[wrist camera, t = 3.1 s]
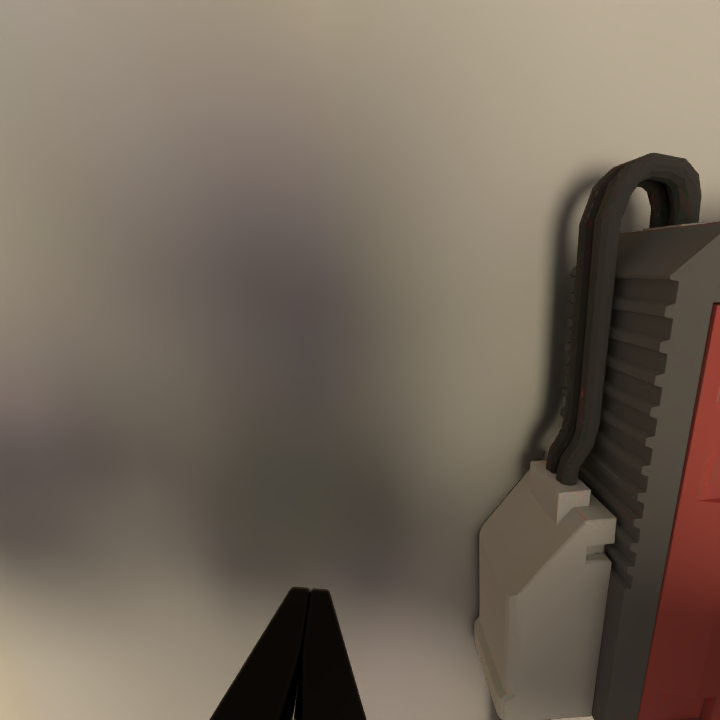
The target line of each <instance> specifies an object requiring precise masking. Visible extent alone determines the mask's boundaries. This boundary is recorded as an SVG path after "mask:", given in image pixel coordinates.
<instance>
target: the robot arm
mask: <svg viewBox="0 0 720 720" xmlns="http://www.w3.org/2000/svg"><path fill="white" fill-rule="evenodd" d="M296 694H297V695H296ZM295 701H296V703H295ZM294 708H295V712H294ZM293 714H294V720H366V716H365V713H364V709H363V706H362V702H361V699H360V695H359V692H358V688H357V685H356V682H355V678H354V675H353V671H352V668H351V664H350V661H349V657H348V654H347V650H346V647H345V643H344V640H343V636H342V633H341V630H340V626H339V623H338V619H337V616H336V612H335V609H334V605H333V602H332V598H331V595H330V592H329V591H328V590H326V589H315V588H314V589H312V590H311V591H310V590H309V589H308V588H304V587H292V588H291V589H290V590H289V592H288V594H287V595H286V597H285V598H284V600H283V602H282V603H281V605H280V607H279V608H278V610H277V611H276V613H275V615H274V616H273V618H272V619H271V621H270V623H269V624H268V626H267V628H266V629H265V631H264V632H263V634H262V636H261V637H260V639H259V640H258V642H257V644H256V645H255V647H254V649H253V650H252V652H251V653H250V655H249V657H248V658H247V660H246V661H245V663H244V665H243V666H242V668H241V670H240V671H239V673H238V674H237V676H236V678H235V679H234V681H233V682H232V684H231V686H230V687H229V689H228V691H227V692H226V694H225V695H224V697H223V699H222V700H221V702H220V703H219V705H218V707H217V708H216V710H215V712H214V713H213V715H212V716H211V718H210V720H293Z"/></svg>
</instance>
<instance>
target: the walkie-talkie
mask: <svg viewBox="0 0 720 720" xmlns="http://www.w3.org/2000/svg"><path fill="white" fill-rule="evenodd" d="M636 187H642V188H643V189H644V190H645V191H646V192H647V194H648V198H649V202H650V205H651V215H650V226H649V229H643V231H639V232H630V233H622V234H620V226H621V219H622V216H623V214H624V211H625V208H626V205H627V202H628V200H629V197H630V195H631V194H632V192H633V191H634V190H635V188H636ZM700 203H701V189H700V181H699V174H698V173H697V172H696V170H695V169H694V168H693V167H692V166H691V164H690V163H689V162H688V161H687V160H686V159H684V158H679V157H673V156H668V155H663V154H658V153H650V154H647V155H645V156H642V157H639V158H637V159H634V160H632V161H629V162H626V163H624V164H621V165H619V166H616V167H614V168H612V169H611V170H610V171H609V172H608V173H607V174H606V175H605V176H604V177H603V178H602V179H601V180H600V181H599V182H598V183H597V184H596V185H595V186H594V187H593V189H592V191H591V194H590V197H589V199H588V202H587V205H586V208H585V210H584V213H583V216H582V218H581V221H580V224H579V237H578V251H577V265H576V267H575V268H574V269H573V270H572V271H571V274H570V275H571V276H574V277H575V282H574V292H572V293H570V294H569V301H570V302H573V310H572V317H570V318H568V320H567V326H569V327H571V338H570V341H569V342H567V343H566V349H565V350H567V351H570V352H569V364H568V365H566V366H564V373H566V374H568V380H567V387H565V388H563V393H562V395H564V396H565V397H566V408H564V409H562V410H561V416H562V417H563V418H564V421H563V425H562V429H561V430H560V433H559V435H558V436H557V438H556V439H555V441H554V443H553V444H552V446H551V447H550V450H549V454H548V458H547V460H541V461H531V464H530V469H529V470H528V472H527V473H526V474H525V475H524V476H523V478H522V479H521V480H520V481H519V482H518V483H517V485H516V486H515V487H514V488H513V489H512V491H511V492H510V493H509V494H508V495H507V497H506V498H505V499H504V500H503V501H502V503H501V504H500V505H499V506H498V507H497V509H496V510H495V511H494V512H493V513H492V514H491V516H490V517H489V518H488V519H487V520H486V522H485V523H484V524H483V526H482V528H481V531H480V534H479V575H480V616H479V617H478V619H477V620H476V621H475V624H474V628H475V645H476V649H477V652H478V655H479V658H480V661H481V665H482V668H483V671H484V674H485V677H486V680H487V684H488V687H489V690H490V693H491V696H492V700H493V703H494V706H495V709H496V712H497V714H498V716H499V718H500V719H502V720H551V719H560V718H573V717H586V716H591V714H592V716H593V718H594V720H720V222H712V223H707V222H699V223H698V221H699V212H700Z"/></svg>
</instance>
